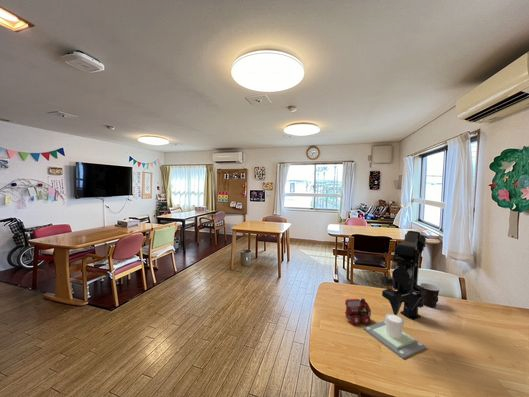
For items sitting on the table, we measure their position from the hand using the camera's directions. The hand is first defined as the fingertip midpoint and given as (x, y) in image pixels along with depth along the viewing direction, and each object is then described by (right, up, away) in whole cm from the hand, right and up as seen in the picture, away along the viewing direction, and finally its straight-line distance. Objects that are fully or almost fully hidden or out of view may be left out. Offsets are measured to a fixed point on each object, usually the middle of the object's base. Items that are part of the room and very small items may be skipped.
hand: (402, 312), depth 90 cm
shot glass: (-3, -10, +2) cm, 11 cm away
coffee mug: (+31, -11, +28) cm, 43 cm away
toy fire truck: (-13, -11, +14) cm, 22 cm away
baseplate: (-3, -12, +2) cm, 12 cm away
